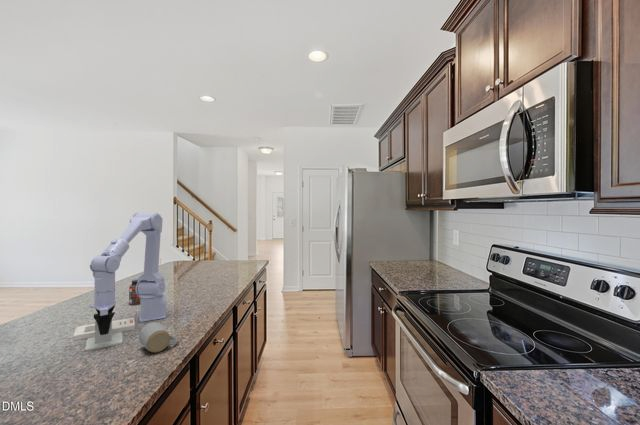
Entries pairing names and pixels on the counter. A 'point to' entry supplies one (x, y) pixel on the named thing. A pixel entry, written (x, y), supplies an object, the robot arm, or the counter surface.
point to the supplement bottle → (134, 294)
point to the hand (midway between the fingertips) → (104, 330)
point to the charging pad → (91, 342)
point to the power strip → (116, 328)
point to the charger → (102, 338)
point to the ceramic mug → (156, 337)
